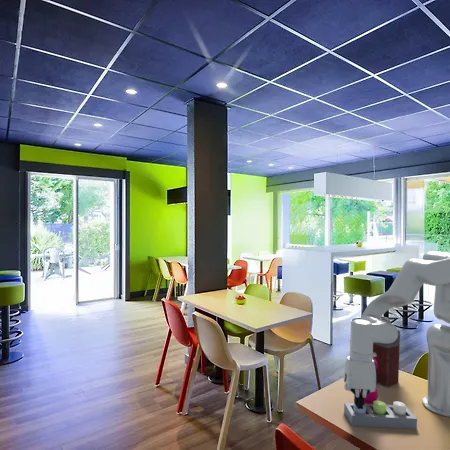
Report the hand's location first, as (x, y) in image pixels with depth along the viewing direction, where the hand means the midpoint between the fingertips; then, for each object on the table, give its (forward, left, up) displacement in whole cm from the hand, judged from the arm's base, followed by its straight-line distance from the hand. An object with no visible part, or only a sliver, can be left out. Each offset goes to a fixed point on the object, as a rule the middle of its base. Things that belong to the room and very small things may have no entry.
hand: (359, 406), depth 117 cm
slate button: (0, 0, -4) cm, 4 cm away
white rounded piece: (-14, 0, -3) cm, 14 cm away
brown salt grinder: (-23, -31, -5) cm, 39 cm away
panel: (-7, 0, -5) cm, 9 cm away
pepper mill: (-7, -10, -5) cm, 13 cm away
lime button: (-7, 0, -3) cm, 8 cm away
